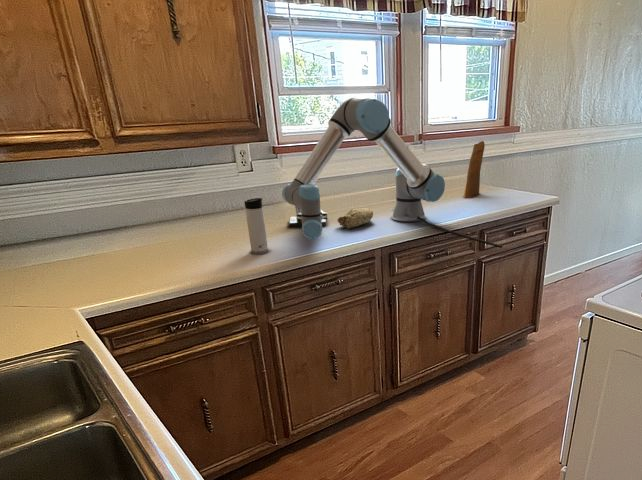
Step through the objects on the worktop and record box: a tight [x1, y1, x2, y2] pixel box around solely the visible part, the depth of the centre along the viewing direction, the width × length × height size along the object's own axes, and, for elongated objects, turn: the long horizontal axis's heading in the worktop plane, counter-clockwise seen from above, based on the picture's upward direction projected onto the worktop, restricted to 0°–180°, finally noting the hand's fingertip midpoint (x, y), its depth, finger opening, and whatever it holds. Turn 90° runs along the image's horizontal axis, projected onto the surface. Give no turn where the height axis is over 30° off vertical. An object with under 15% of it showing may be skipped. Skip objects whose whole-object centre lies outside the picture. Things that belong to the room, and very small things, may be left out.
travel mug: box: [244, 197, 269, 255], centre depth 193 cm, size 6×7×20 cm
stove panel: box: [289, 216, 327, 229], centre depth 236 cm, size 16×14×2 cm
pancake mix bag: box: [463, 140, 486, 199], centre depth 284 cm, size 7×19×28 cm, turn 148°
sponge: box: [336, 207, 374, 230], centre depth 233 cm, size 13×8×20 cm
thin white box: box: [294, 205, 301, 218], centre depth 233 cm, size 10×2×8 cm, turn 98°
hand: (312, 208), depth 231 cm, fingers closed
